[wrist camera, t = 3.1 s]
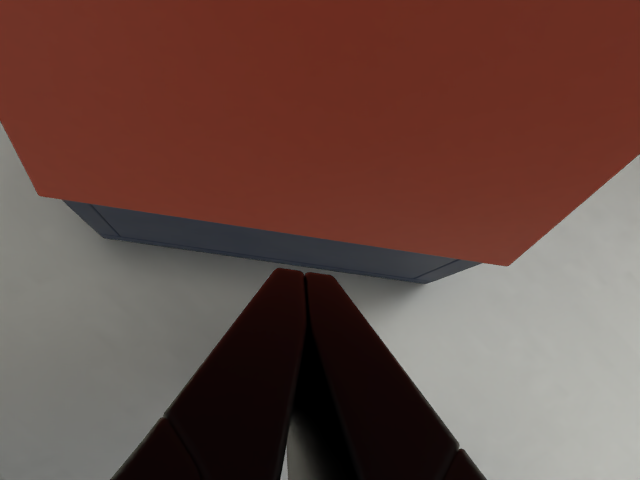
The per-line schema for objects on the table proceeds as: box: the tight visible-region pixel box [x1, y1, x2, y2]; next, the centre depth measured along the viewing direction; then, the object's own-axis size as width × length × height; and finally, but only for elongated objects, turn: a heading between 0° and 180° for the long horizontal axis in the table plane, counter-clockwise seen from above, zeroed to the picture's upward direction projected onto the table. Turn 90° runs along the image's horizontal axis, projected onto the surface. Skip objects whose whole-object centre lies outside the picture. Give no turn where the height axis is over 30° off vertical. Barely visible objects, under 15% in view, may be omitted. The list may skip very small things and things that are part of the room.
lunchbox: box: [61, 199, 481, 284], centre depth 20 cm, size 15×13×6 cm
